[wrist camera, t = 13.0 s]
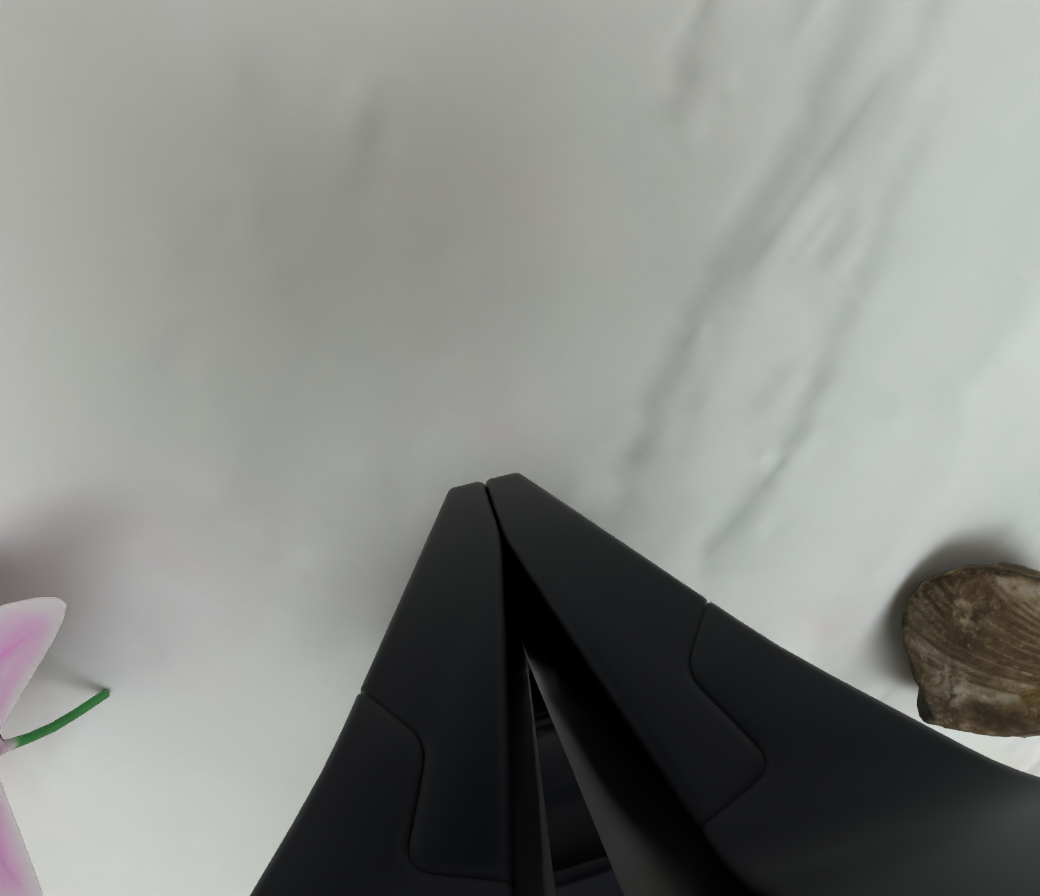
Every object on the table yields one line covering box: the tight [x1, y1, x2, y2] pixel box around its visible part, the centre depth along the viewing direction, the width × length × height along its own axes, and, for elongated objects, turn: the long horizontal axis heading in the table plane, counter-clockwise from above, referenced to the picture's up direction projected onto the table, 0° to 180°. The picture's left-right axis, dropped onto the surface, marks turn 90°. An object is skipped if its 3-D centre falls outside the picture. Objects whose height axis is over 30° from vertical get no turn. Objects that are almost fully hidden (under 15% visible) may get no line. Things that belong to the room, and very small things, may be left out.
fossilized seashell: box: [902, 562, 1040, 738], centre depth 31 cm, size 8×7×10 cm
